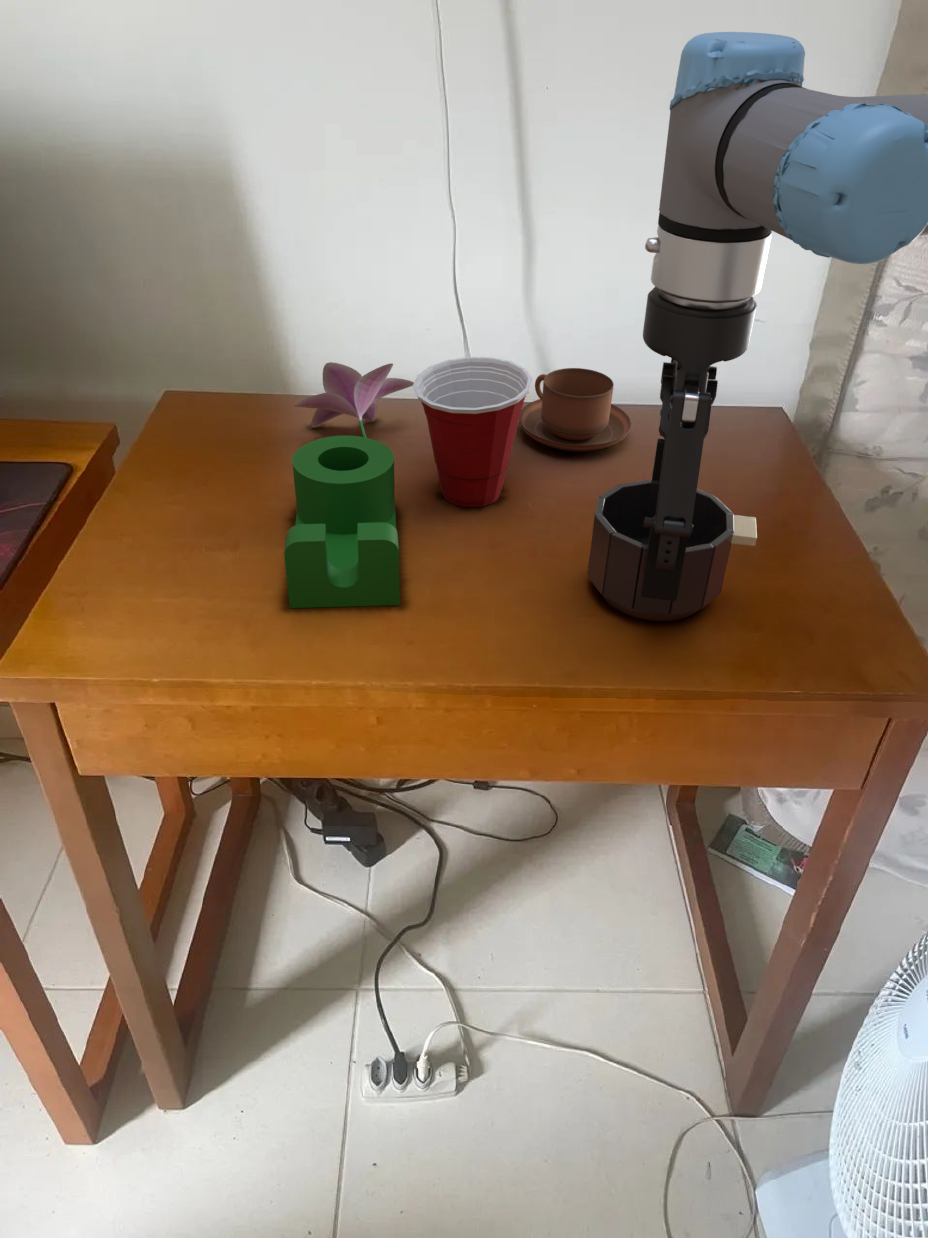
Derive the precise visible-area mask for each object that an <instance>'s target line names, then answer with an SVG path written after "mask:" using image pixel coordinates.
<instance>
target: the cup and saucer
mask: <svg viewBox="0 0 928 1238" xmlns="http://www.w3.org/2000/svg"><path fill="white" fill-rule="evenodd" d="M542 382H543V383H542ZM541 383H542V389H541ZM614 387H615V384H614V381H613V380H612V378H610V377H609V376H608V375H606V374H604V373H603V372H601V371H597V370H594V369H589V368H582V367H568V368H567V367H566V368H560V369H555V370H553V371H550V372H549V373H547V374H545V373H542V374H539V375H538V376H537V377H536V379H535V381H534V390H535V393H536V395H537V397H538V399H536V400H533V401H531V402H528V403H527V404H526V405H524V407H522V410H521V414H520V418H519V419H518V423H519V426H520V428H521V429H522V430H523V432H524V433H525V434H527V436H529V437H530V438H531V439H532V440H534V441H535V442H537V443H539V444H540V445H543V446H546V447H548V448H553V449H556V450H561V451H569V452H593V451H599V450H605V449H607V448H610V447H613V446H614V445H617V444H618V443H619V442H621V441H622V440H624V439H625V438H626V437H627V436H628V434H629V433H630V431H631V429H632V428H631V427H632V421H631V418H630V417H629V415H628V413H627V412H625V411H624V410H623V409H622V408H620V407H618V406H616V405H615V404H613V403H612V401H613V393H614Z"/></svg>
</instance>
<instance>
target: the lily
mask: <svg viewBox="0 0 928 1238" xmlns="http://www.w3.org/2000/svg"><path fill="white" fill-rule="evenodd" d="M393 366H394V363H392V362H391V363H387V364H384V365H381V366H379V367H377V368H375V369H372V370H370V371H369V372H367V373H365V374H363V375H362V374H361V373H360V372H359V371H357V370H356V369H354V368H353V367H351V366H348V365H345V364H342V363H338V362H332V361H331V362H330V361H329V362H326V363H325V364H324V366H323V368H322V386H323V390H324V392H322V393H319V394H314V395H313V396H309V397H307V398H304V399H303V400H301V401H298V402H296V403H295V404H294V405H293V406H294V408H308V409H316V410H315V411H314V414H313V416H312V419H311V423H310V424H311V428H316V427H319V426H321V425H323V424H324V423H327V422H328V421H330V420H333V419H334V418H337V417H338V416H339V417H340V416H341V415H347V416H351V417H354V418H357V419H358V422H359V425H360V430H361V433H362V437H366V438H367V434H366V431H365V427H364V423H363V420H365V421H369V422H375V420H376V417H377V413H378V412H377V410H378V404H377V401H378V400H380V399H382V398H384V397H387V396H388V395H390V394H393V393H396V392H399V391H403V390H405V389H409V388H411V387H413V384H414V382H415V381H411V380H409V379H404V378H397V377H388V376H389V374H390V372H391V370H392V368H393Z"/></svg>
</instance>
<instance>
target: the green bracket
mask: <svg viewBox="0 0 928 1238" xmlns="http://www.w3.org/2000/svg"><path fill="white" fill-rule="evenodd" d="M292 473H293V483H294V484H293V485H294V493H295V496H294V497H295V505H296V516H295V525H292V526H291V527H290V528H289V529H288V530H287V532H286V536H285V545H284V554H283V556H284V565H285V566H284V568H285V575H286V576H285V577H286V585H287V596H288V606H289V609H307V608H308V609H310V608H341V607H342V608H343V607H344V608H345V607H348V608H349V607H375V606H376V607H377V606H379V607H380V606H381V607H382V606H400V605H401V598H400V597H401V592H400V547H399V534H398V531H397V520H396V519H397V517H396V501H395V500H396V492H395V489H396V488H395V456H394V452H393V451H392V449H390V447H389V446H387V445H386V444H384V443H382V442H380V441H378V440H376V439H373V438H370V437H367V436H366V437H363V436H359V435H333V436H325V437H322V438H318V439H315V440H312V441H309V442H307V443H305V444H304V445H302V446H300V447H299V448H298V449H297V450H296V451H295V452H294V454H293V456H292Z"/></svg>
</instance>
